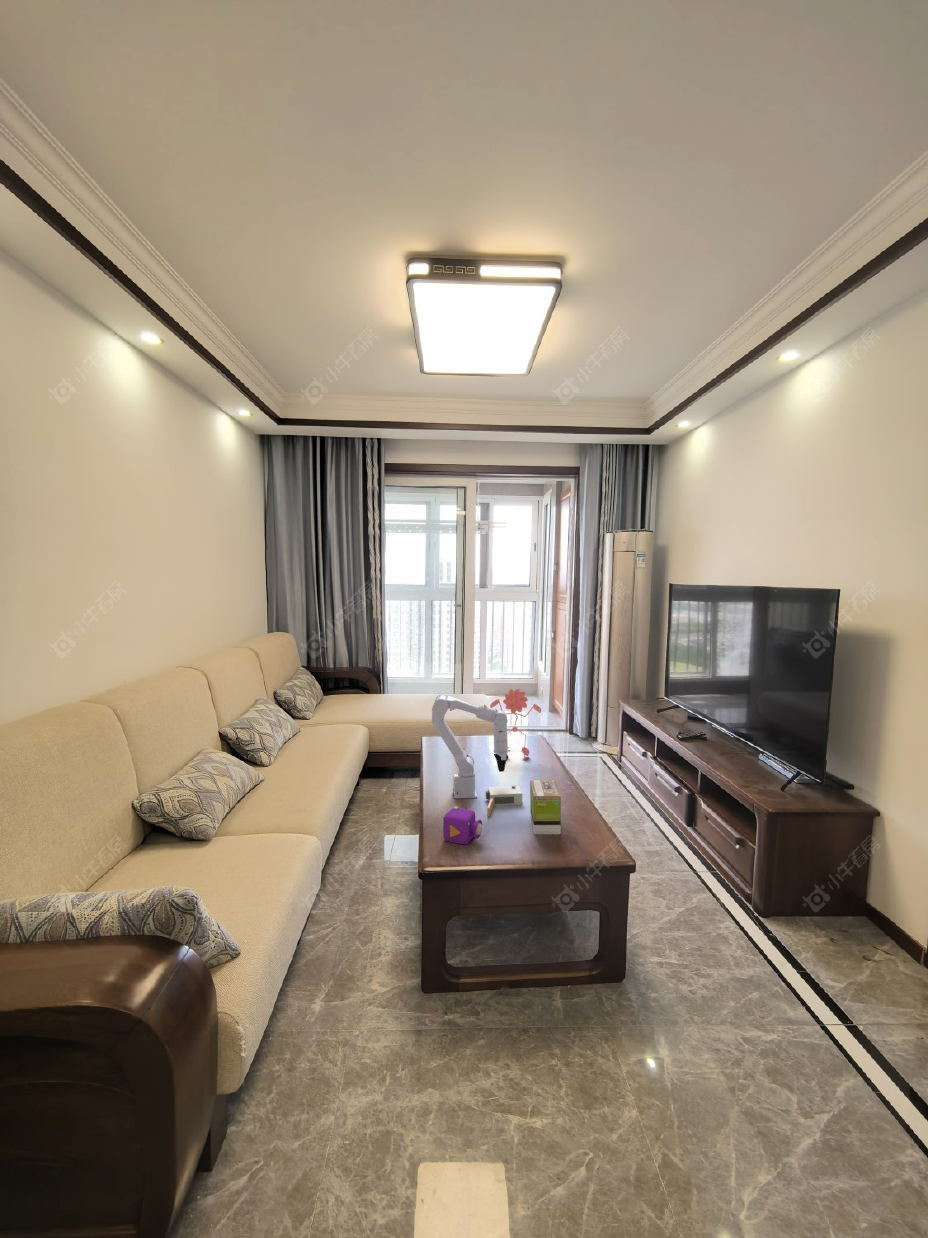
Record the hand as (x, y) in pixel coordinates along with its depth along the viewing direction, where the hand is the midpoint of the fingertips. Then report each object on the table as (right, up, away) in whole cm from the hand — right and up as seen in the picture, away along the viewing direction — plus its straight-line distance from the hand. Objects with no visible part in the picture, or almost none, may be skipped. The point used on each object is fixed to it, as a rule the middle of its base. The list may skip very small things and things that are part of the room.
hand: (501, 771), depth 228 cm
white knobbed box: (+1, -11, -5) cm, 12 cm away
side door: (-5, -12, -15) cm, 19 cm away
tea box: (+14, -13, -27) cm, 33 cm away
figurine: (+11, -6, +50) cm, 52 cm away
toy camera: (-16, -14, -37) cm, 42 cm away
